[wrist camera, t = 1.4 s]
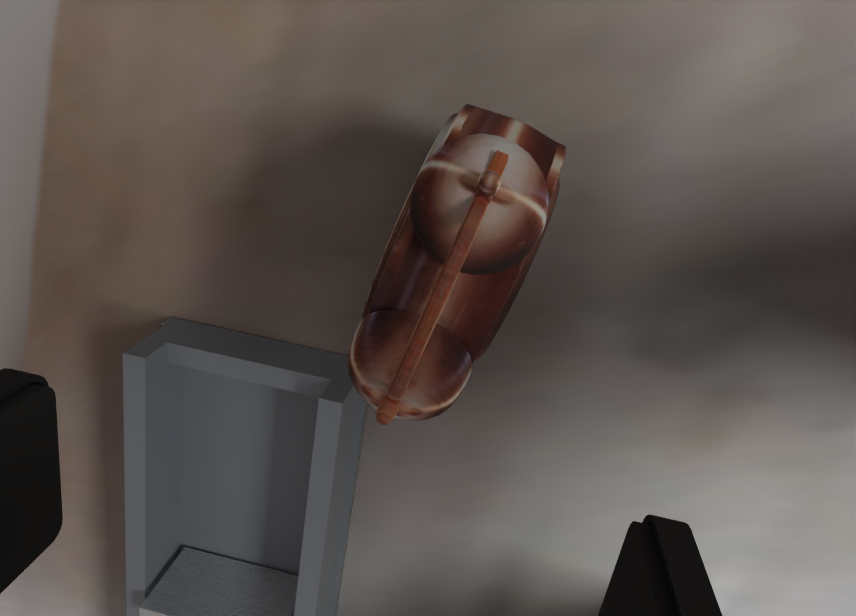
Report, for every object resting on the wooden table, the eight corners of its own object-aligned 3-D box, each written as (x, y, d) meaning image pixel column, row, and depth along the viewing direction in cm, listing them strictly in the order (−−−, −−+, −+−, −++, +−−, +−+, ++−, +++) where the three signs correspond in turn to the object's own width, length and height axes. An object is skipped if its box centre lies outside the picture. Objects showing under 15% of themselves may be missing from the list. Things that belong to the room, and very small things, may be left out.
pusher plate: (307, 578, 40) (277, 644, 35) (306, 592, 40) (276, 660, 35) (184, 546, 40) (139, 607, 36) (184, 561, 41) (139, 623, 36)
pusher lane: (373, 361, 35) (348, 405, 30) (319, 728, 46) (295, 801, 41) (170, 316, 36) (117, 351, 32) (164, 685, 47) (124, 751, 42)
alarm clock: (474, 91, 30) (420, 104, 16) (569, 134, 29) (599, 184, 16) (391, 292, 34) (290, 444, 20) (474, 329, 34) (432, 508, 20)
